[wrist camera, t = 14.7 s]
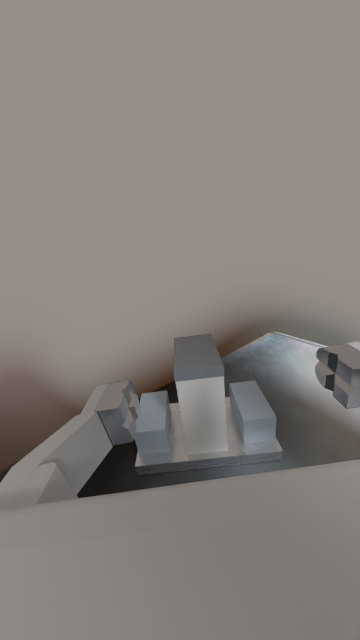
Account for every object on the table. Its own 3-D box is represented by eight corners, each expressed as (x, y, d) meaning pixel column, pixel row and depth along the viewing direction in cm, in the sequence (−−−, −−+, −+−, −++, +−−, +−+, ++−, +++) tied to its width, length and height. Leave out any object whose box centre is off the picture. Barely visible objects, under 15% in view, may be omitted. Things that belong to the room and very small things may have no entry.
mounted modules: (254, 400, 28) (255, 380, 26) (275, 440, 22) (276, 416, 21) (146, 412, 28) (141, 393, 27) (139, 454, 22) (132, 432, 21)
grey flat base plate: (253, 402, 29) (253, 394, 29) (282, 460, 21) (283, 451, 21) (148, 413, 30) (146, 406, 29) (137, 475, 22) (135, 466, 21)
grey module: (216, 402, 28) (210, 333, 24) (228, 450, 21) (223, 366, 18) (184, 405, 28) (174, 338, 24) (187, 455, 22) (173, 372, 18)
